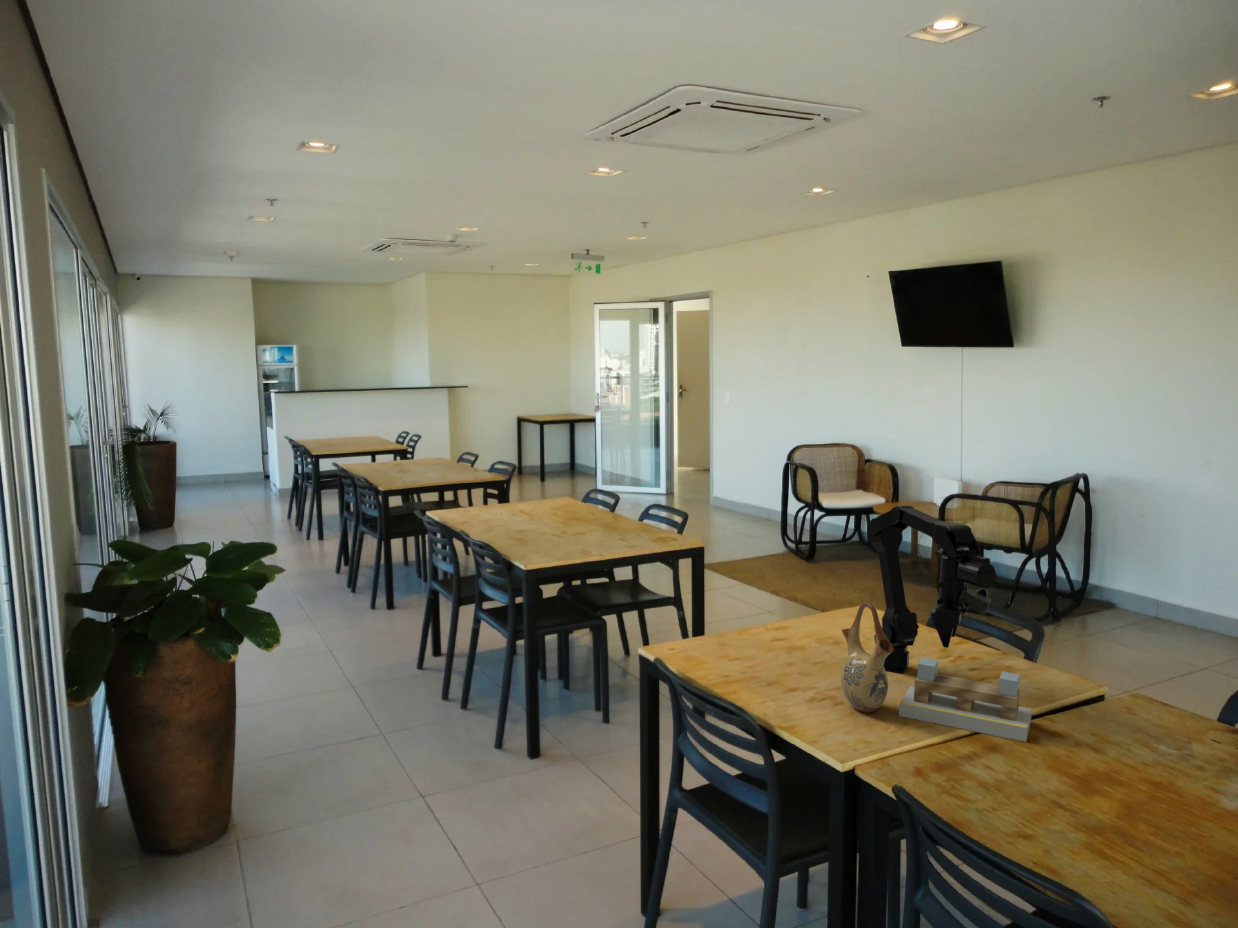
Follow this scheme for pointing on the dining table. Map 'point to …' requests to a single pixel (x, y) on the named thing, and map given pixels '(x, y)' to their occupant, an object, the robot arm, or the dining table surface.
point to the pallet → (967, 694)
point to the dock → (966, 716)
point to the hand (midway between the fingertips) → (949, 641)
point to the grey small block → (927, 669)
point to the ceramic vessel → (865, 666)
